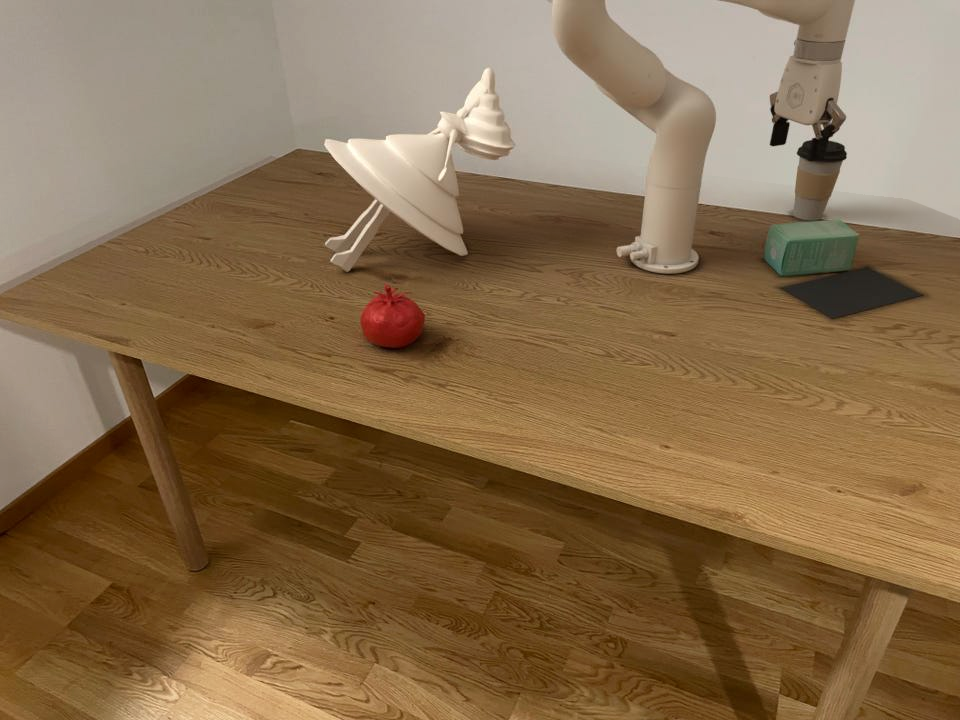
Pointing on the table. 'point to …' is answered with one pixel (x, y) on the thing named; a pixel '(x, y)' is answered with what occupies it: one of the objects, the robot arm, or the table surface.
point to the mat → (851, 292)
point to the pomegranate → (392, 319)
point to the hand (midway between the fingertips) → (795, 152)
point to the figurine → (420, 173)
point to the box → (810, 247)
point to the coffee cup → (816, 180)
